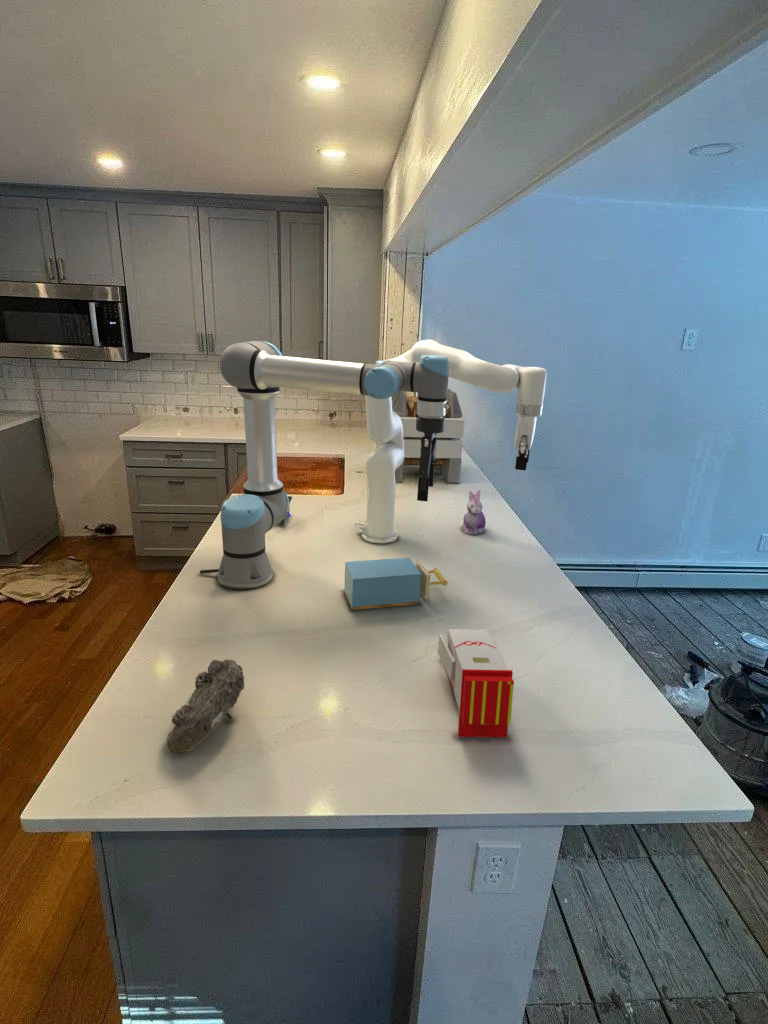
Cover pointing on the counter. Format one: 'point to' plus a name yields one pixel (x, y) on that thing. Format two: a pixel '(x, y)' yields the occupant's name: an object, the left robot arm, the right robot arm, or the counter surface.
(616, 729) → the counter surface
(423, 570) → the drawer
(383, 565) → the cabinet
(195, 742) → the fossil
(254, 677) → the counter surface
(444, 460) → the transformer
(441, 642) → the toy
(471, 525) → the figurine
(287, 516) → the figurine character
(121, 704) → the counter surface
